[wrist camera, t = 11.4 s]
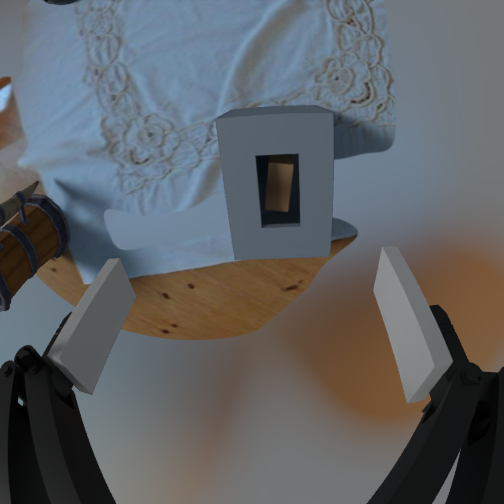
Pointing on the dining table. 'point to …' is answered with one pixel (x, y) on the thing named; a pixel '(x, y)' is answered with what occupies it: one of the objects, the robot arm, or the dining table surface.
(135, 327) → the dining table surface
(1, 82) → the dining table surface
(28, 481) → the robot arm
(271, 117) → the coin box
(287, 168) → the brown wooden block
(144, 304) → the dining table surface
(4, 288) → the mug
